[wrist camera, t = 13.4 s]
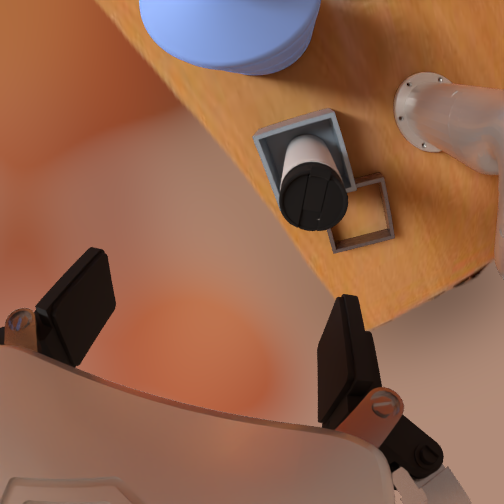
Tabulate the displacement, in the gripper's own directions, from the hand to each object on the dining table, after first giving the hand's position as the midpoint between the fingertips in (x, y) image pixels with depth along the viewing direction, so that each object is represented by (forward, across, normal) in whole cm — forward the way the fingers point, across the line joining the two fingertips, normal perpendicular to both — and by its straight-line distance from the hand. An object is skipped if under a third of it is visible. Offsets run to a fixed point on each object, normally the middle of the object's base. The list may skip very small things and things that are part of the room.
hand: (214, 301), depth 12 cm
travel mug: (+36, -5, +1) cm, 36 cm away
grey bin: (+37, -5, +2) cm, 37 cm away
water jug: (+37, +5, -17) cm, 41 cm away
